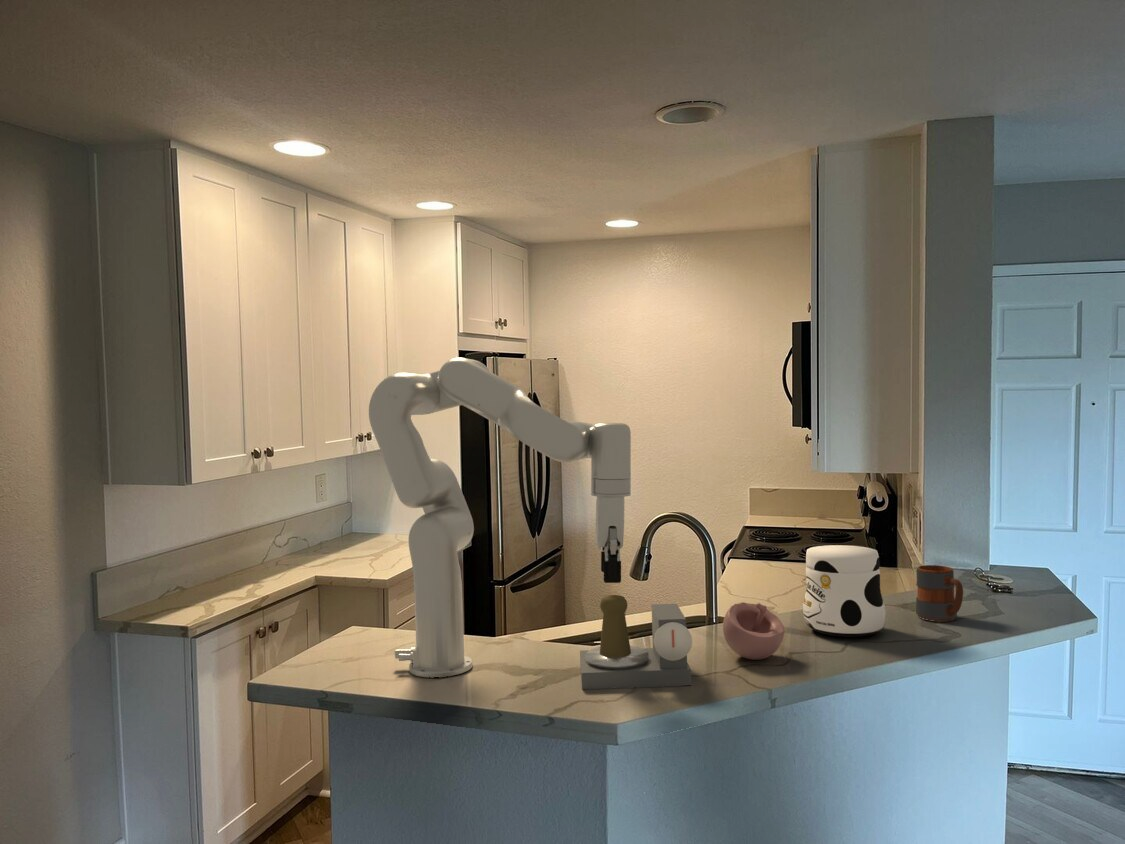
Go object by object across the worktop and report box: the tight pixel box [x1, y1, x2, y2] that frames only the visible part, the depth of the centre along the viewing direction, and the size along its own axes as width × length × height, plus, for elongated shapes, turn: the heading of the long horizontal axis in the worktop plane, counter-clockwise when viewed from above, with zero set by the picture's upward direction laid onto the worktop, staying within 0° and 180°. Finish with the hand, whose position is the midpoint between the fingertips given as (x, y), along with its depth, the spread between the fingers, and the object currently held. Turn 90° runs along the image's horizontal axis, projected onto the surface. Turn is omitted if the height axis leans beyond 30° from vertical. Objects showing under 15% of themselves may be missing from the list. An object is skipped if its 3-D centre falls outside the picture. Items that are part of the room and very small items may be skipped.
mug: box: [915, 564, 964, 622], centre depth 187 cm, size 9×12×12 cm
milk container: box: [802, 544, 887, 638], centre depth 180 cm, size 17×17×18 cm
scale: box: [579, 603, 693, 690], centre depth 155 cm, size 20×14×12 cm
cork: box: [599, 594, 631, 658], centre depth 156 cm, size 6×6×11 cm
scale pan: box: [586, 645, 649, 669], centre depth 155 cm, size 12×12×1 cm
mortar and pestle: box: [722, 601, 786, 661], centre depth 163 cm, size 12×12×12 cm
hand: (610, 576), depth 155 cm, fingers open, 9 cm apart
